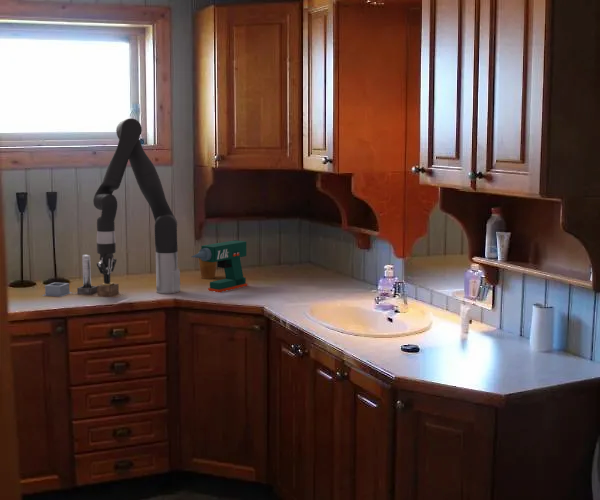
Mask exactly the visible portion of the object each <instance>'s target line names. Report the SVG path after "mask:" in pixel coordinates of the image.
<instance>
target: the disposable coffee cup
mask: <svg viewBox="0 0 600 500" xmlns="http://www.w3.org/2000/svg"><path fill="white" fill-rule="evenodd" d="M198 264H199V269H200V276H201V279H203V280H212V279H215V278H216V270H217V262H206V261H202V260H201V259H200V258H198Z"/></svg>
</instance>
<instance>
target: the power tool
mask: <svg viewBox="0 0 600 500" xmlns="http://www.w3.org/2000/svg"><path fill="white" fill-rule="evenodd" d="M243 257H247V241H246V240H230V241H229V240H228V241H223V242H217V243H211V244H210V243H209V244H205V245H204V244H203V245H201V246H200V250H199V251H198V253H195V254H193V255H192V256H191V258H195V259H199V258H200V259H201V260H202V261H206V262H217V263H216V268H219V269H223V270H224V274H225V278H222V279H219V280H212V281H210V282H209V287H208V288H207V291H208V290H209V291H208V292H213V291H215V293H223V292H222V291H224V292H227V291H226V290H228V291H232V290H236V289H235V288H237V289H240V288H239V287H241V288H244V287H243V286H245V287H248V283H247V279H246V278H247V277H244V273H243V267H242V262H241V258H243ZM231 289H232V290H231Z"/></svg>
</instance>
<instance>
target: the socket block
mask: <svg viewBox="0 0 600 500" xmlns="http://www.w3.org/2000/svg"><path fill="white" fill-rule="evenodd" d="M102 284H103V283H101V284H98V285H91V288H83V285H81V286H79V287H77V288H76V289H77V291H76V292H73V293H70V296H72V295H74V296H89V297H103V298H104V297H105V298H118V297H121V296H122V295H125V294H126V292H120V290H119V284H120V283H114V285H111V286H102Z"/></svg>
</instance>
